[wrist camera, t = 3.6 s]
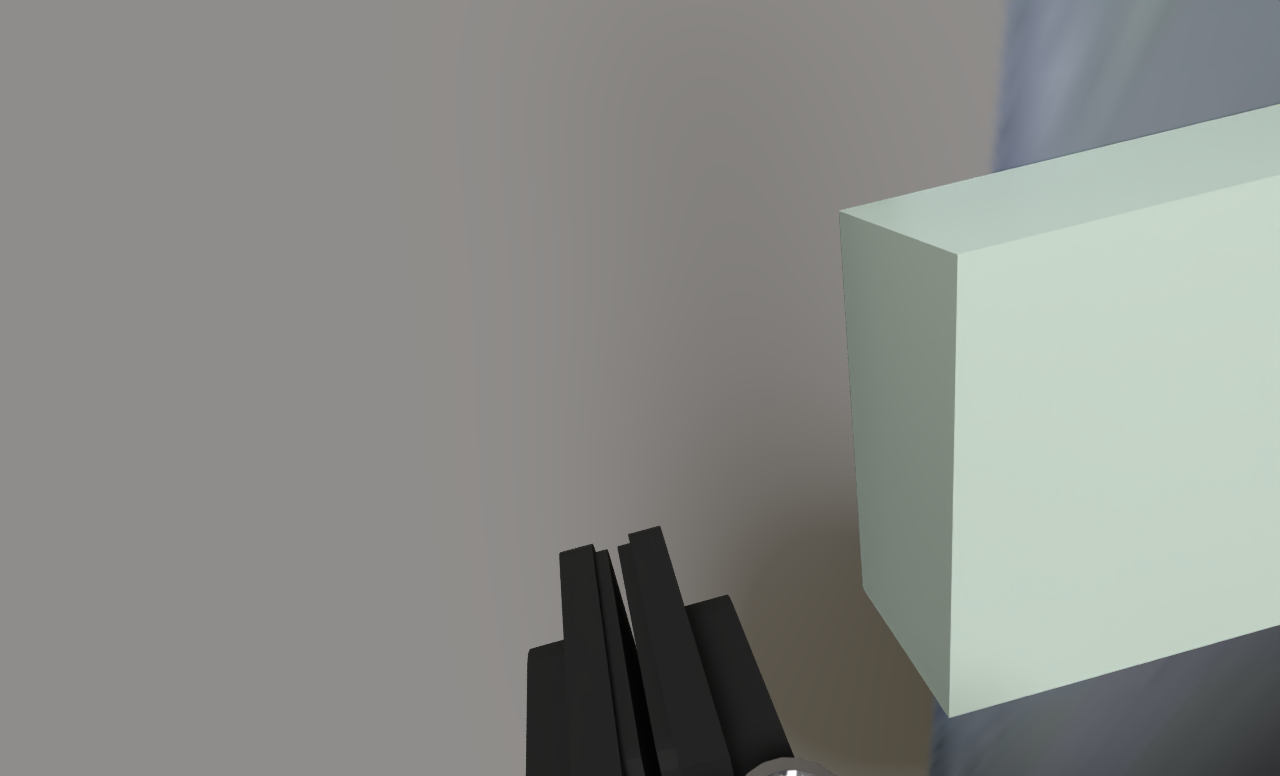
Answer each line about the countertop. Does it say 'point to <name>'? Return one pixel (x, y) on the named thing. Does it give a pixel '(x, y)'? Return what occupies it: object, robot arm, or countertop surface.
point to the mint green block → (1071, 409)
